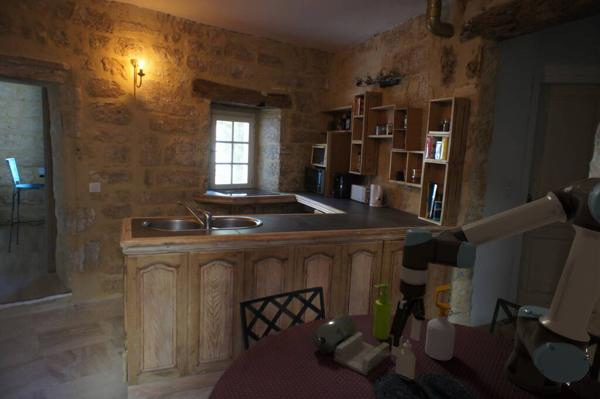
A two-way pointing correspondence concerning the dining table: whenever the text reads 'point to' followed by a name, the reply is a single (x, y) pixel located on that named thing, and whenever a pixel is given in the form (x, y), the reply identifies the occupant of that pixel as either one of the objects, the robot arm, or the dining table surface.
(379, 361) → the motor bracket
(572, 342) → the robot arm
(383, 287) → the soap dispenser
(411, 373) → the eye dropper bottle
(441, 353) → the soap bottle
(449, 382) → the dining table surface
